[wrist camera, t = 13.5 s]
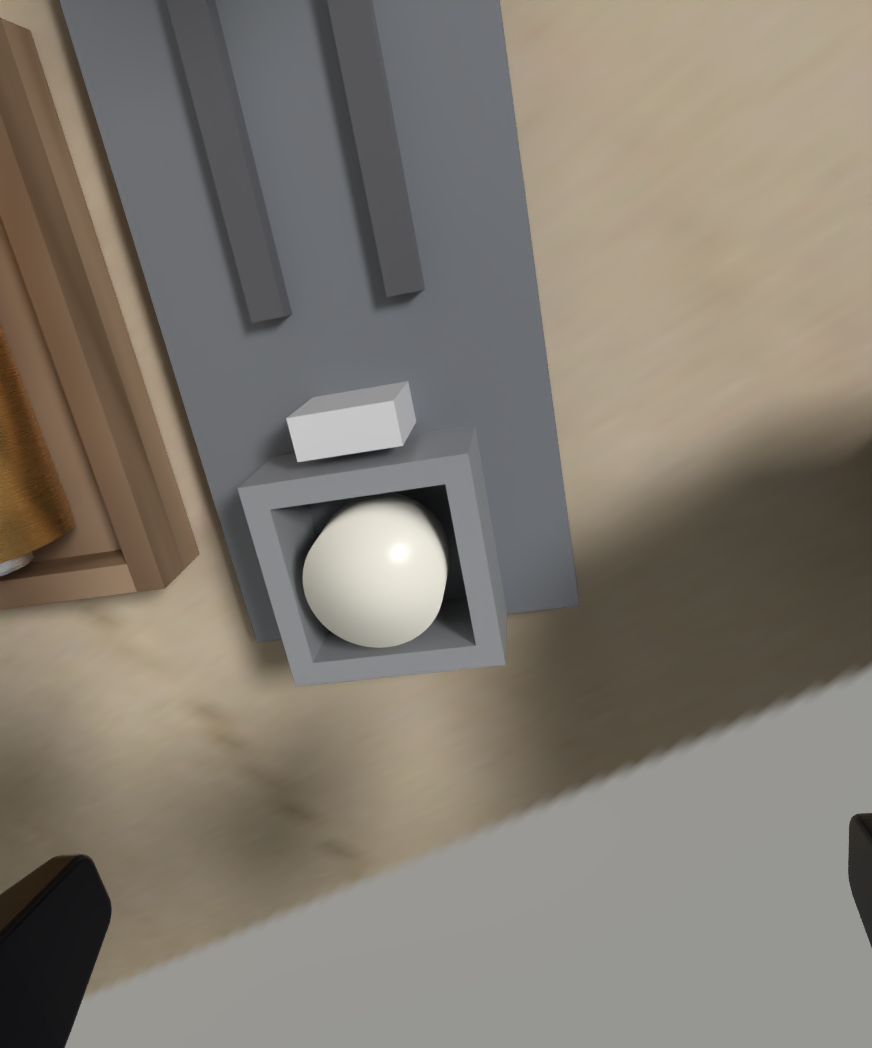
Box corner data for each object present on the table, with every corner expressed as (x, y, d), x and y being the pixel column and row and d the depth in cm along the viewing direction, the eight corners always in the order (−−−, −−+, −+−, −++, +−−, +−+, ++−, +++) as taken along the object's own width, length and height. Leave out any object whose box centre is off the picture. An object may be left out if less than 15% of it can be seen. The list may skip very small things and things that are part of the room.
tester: (465, -255, 14) (448, -401, 11) (576, 588, 20) (587, 656, 17) (45, -123, 15) (-82, -218, 12) (268, 624, 22) (223, 693, 18)
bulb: (437, 482, 17) (428, 509, 16) (461, 603, 18) (454, 639, 17) (309, 501, 18) (286, 528, 16) (338, 617, 19) (321, 654, 17)
